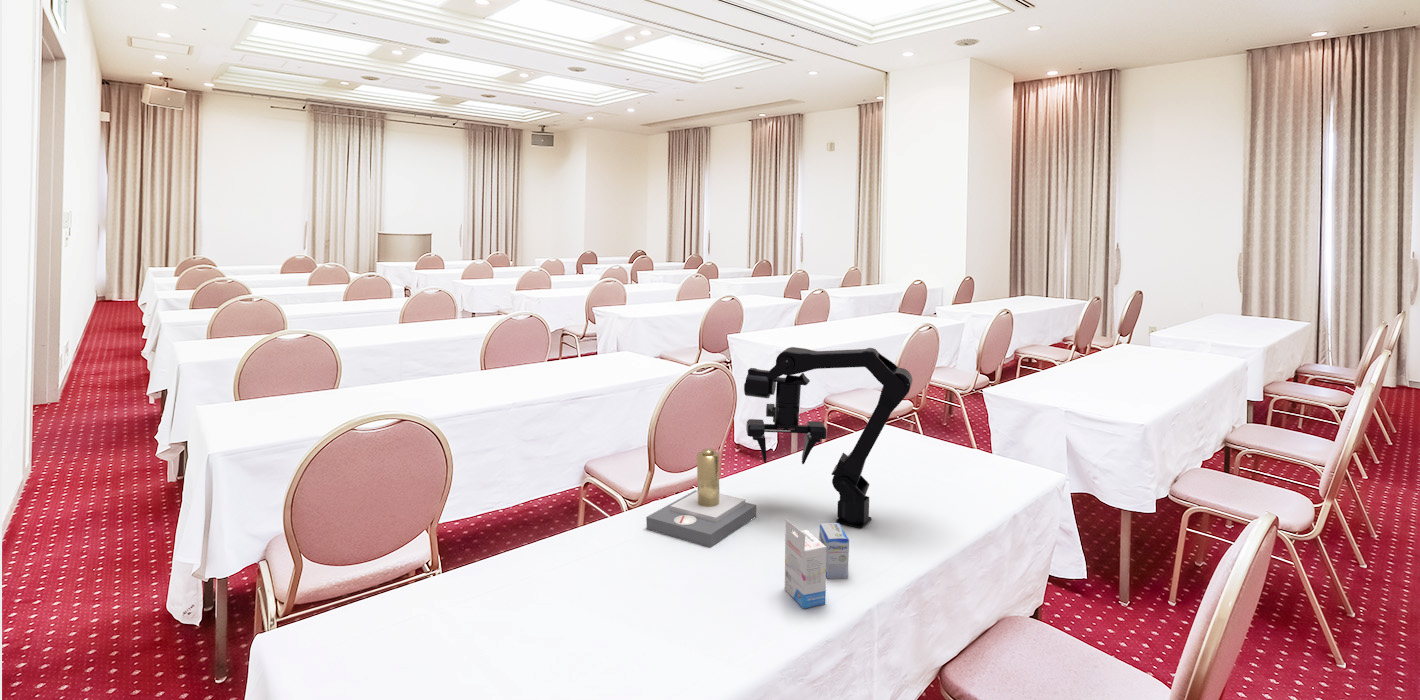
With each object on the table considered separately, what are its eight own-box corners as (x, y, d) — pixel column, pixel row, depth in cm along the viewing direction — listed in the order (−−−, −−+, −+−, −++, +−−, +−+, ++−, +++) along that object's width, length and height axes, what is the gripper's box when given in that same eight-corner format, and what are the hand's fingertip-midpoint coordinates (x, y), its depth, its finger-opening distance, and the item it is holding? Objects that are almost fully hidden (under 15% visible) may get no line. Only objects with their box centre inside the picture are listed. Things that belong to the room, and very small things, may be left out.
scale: (756, 516, 181) (756, 500, 180) (710, 547, 165) (710, 529, 164) (695, 501, 191) (695, 485, 190) (646, 529, 175) (646, 512, 174)
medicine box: (818, 561, 158) (818, 522, 156) (838, 560, 158) (839, 522, 157) (826, 579, 150) (827, 539, 148) (848, 578, 150) (849, 538, 149)
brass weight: (723, 504, 178) (722, 451, 176) (702, 508, 176) (702, 454, 174) (714, 497, 182) (713, 446, 180) (694, 500, 180) (693, 448, 178)
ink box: (827, 604, 140) (828, 531, 138) (803, 609, 139) (804, 535, 136) (806, 584, 148) (807, 514, 146) (783, 588, 147) (784, 517, 144)
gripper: (821, 393, 186) (817, 453, 189) (746, 391, 186) (743, 450, 189) (828, 405, 175) (824, 468, 178) (749, 402, 175) (746, 466, 178)
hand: (783, 463), depth 181 cm, fingers open, 9 cm apart
